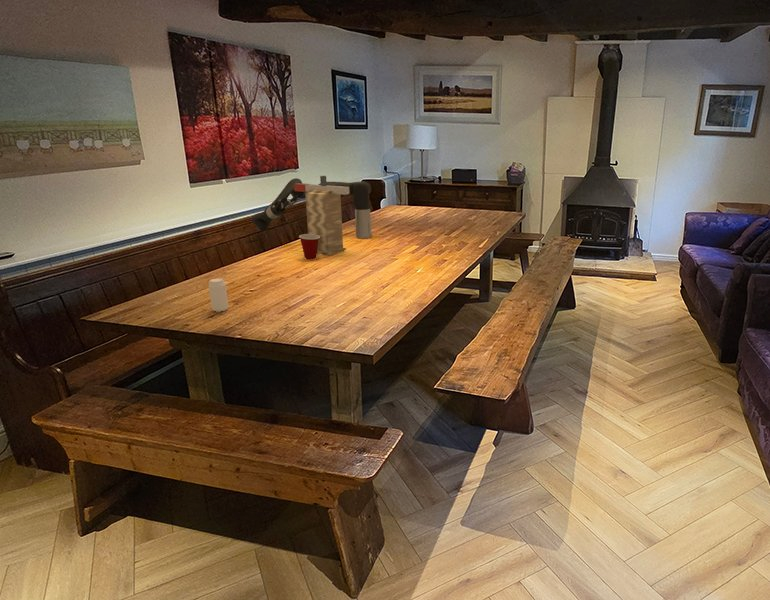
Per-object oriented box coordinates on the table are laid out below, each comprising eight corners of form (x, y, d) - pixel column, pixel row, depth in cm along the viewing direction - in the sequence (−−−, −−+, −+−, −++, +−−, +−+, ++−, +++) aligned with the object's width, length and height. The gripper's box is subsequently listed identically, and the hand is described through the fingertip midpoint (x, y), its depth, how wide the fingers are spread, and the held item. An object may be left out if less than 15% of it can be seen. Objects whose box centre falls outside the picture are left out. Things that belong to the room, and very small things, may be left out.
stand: (306, 252, 292) (302, 190, 281) (324, 247, 302) (320, 187, 292) (328, 255, 282) (325, 192, 272) (345, 250, 293) (342, 189, 283)
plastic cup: (317, 261, 273) (316, 237, 269) (297, 260, 275) (295, 237, 271) (324, 256, 283) (322, 233, 279) (304, 255, 285) (303, 233, 281)
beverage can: (208, 312, 202) (204, 282, 198) (216, 307, 208) (212, 277, 204) (224, 313, 201) (220, 282, 197) (231, 307, 207) (227, 277, 203)
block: (294, 191, 292) (293, 174, 289) (299, 190, 295) (298, 174, 292) (344, 195, 271) (343, 177, 268) (349, 194, 274) (349, 176, 271)
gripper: (263, 205, 302) (279, 192, 291) (282, 202, 313) (298, 189, 302) (269, 217, 302) (285, 205, 291) (287, 214, 313) (303, 201, 302)
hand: (291, 197), depth 297 cm, fingers open, 8 cm apart
